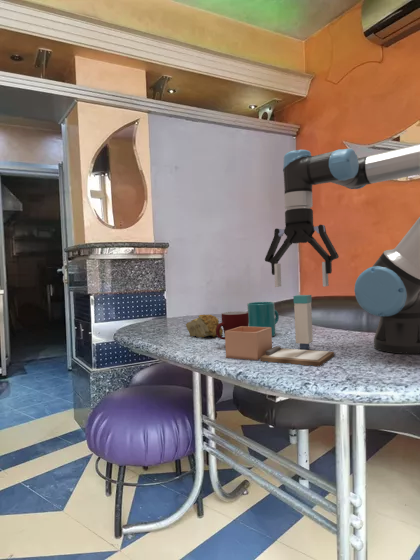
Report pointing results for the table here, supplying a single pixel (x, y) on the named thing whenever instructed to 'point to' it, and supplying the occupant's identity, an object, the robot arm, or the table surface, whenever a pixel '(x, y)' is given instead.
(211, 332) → the rock
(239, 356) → the pen pot
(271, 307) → the cup
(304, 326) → the marker
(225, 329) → the mug
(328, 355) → the open book
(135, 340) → the table surface
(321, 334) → the table surface
